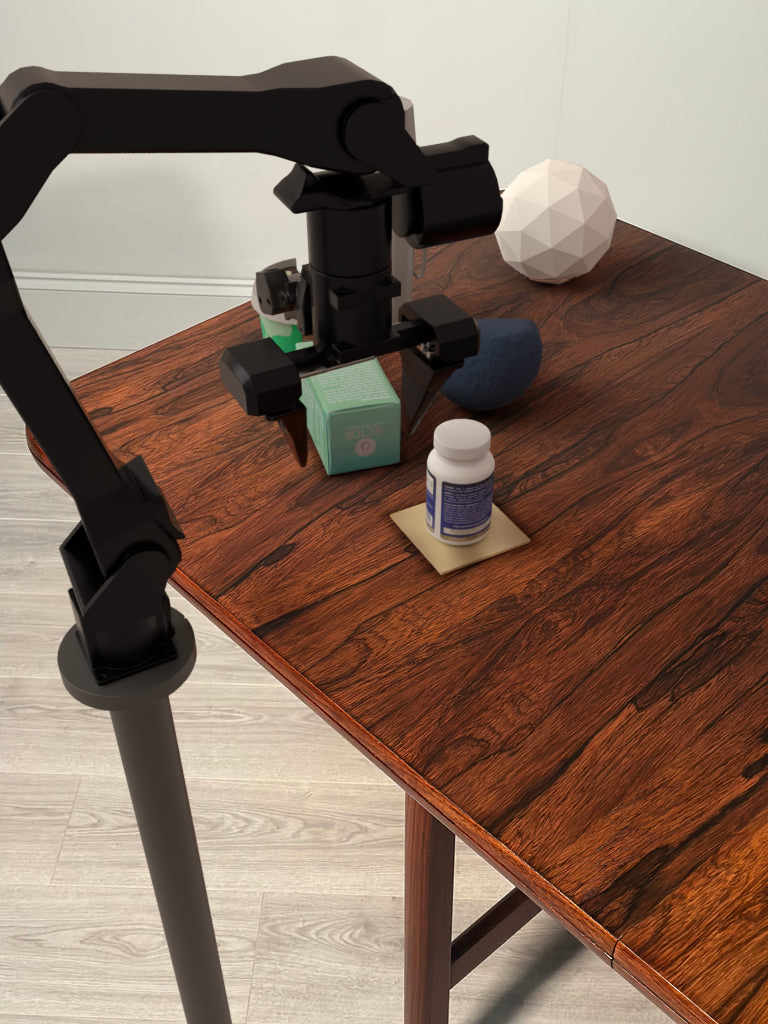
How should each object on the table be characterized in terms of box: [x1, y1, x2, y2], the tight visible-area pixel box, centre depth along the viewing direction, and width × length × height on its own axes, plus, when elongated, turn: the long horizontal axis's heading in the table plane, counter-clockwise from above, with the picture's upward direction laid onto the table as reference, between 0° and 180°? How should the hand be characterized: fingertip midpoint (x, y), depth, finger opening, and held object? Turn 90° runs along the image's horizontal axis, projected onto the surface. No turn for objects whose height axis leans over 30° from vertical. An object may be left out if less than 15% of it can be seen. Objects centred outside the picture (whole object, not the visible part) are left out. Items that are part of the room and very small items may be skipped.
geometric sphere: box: [494, 158, 618, 285], centre depth 128 cm, size 14×15×15 cm
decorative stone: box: [439, 317, 544, 412], centre depth 105 cm, size 12×12×10 cm
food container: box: [250, 257, 313, 353], centre depth 111 cm, size 12×6×10 cm, turn 17°
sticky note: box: [389, 501, 532, 576], centre depth 92 cm, size 9×9×1 cm
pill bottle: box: [425, 418, 496, 546], centre depth 89 cm, size 6×6×10 cm
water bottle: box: [375, 95, 428, 324], centre depth 115 cm, size 9×8×25 cm
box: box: [296, 341, 402, 476], centre depth 101 cm, size 7×14×8 cm, turn 17°
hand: (355, 448), depth 81 cm, fingers open, 9 cm apart
